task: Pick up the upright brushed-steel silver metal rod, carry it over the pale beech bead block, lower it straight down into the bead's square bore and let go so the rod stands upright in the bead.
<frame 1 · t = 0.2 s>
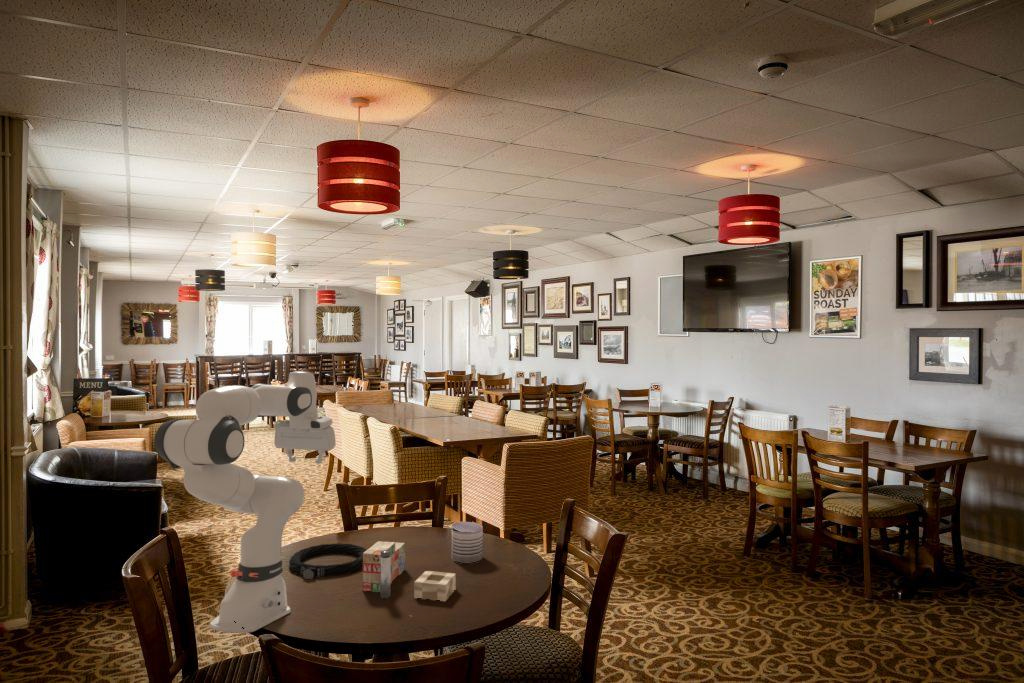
hand: (305, 462, 215), 39 cm above the table, tool pointing down, fingers open, 8 cm apart
cable lock: (328, 566, 232), on the table
silver metal rod: (385, 596, 203), on the table
bead: (435, 593, 206), on the table
stack of blocks: (384, 580, 217), on the table
can: (467, 559, 239), on the table
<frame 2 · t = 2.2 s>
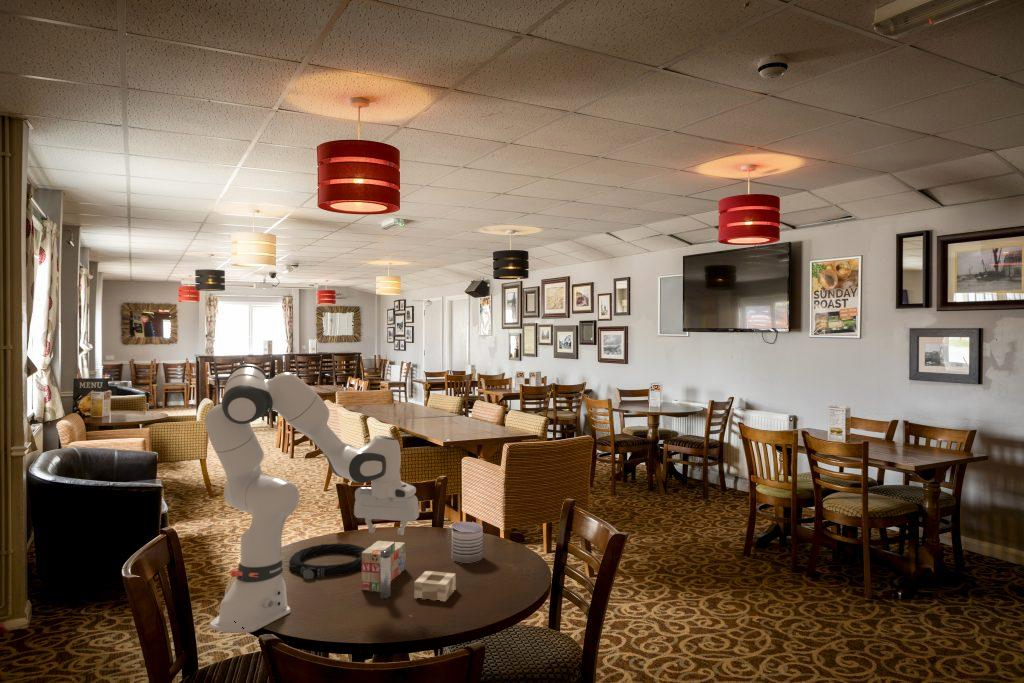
hand: (386, 533, 203), 19 cm above the table, tool pointing down, fingers open, 8 cm apart
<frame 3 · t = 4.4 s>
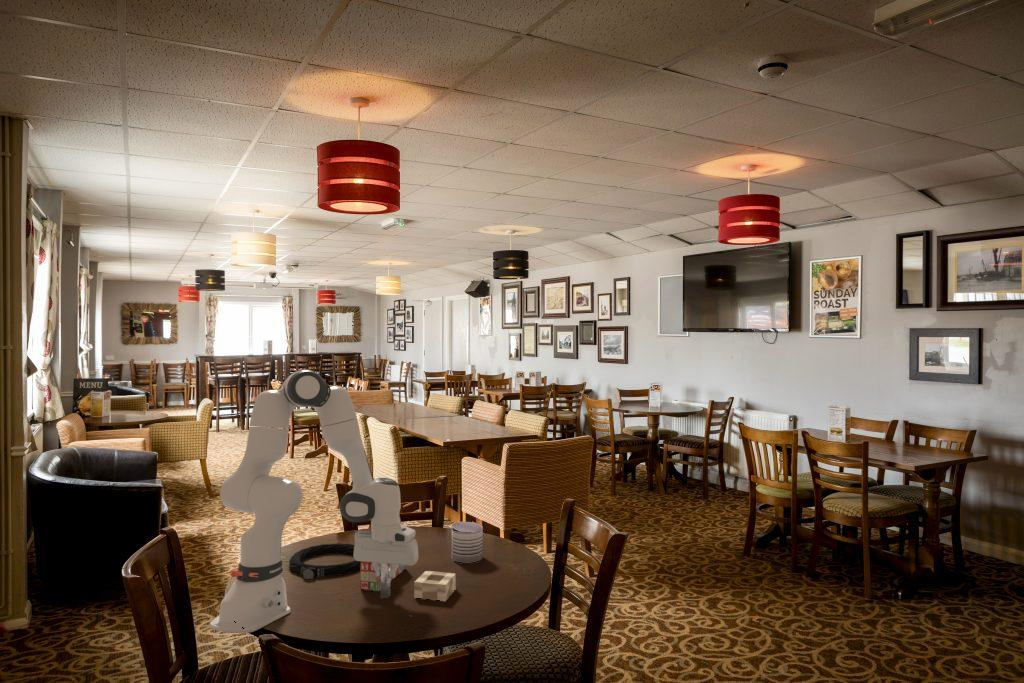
hand: (385, 576, 203), 6 cm above the table, tool pointing down, fingers closed on silver metal rod, 3 cm apart
silver metal rod: (385, 596, 203), on the table, touching gripper
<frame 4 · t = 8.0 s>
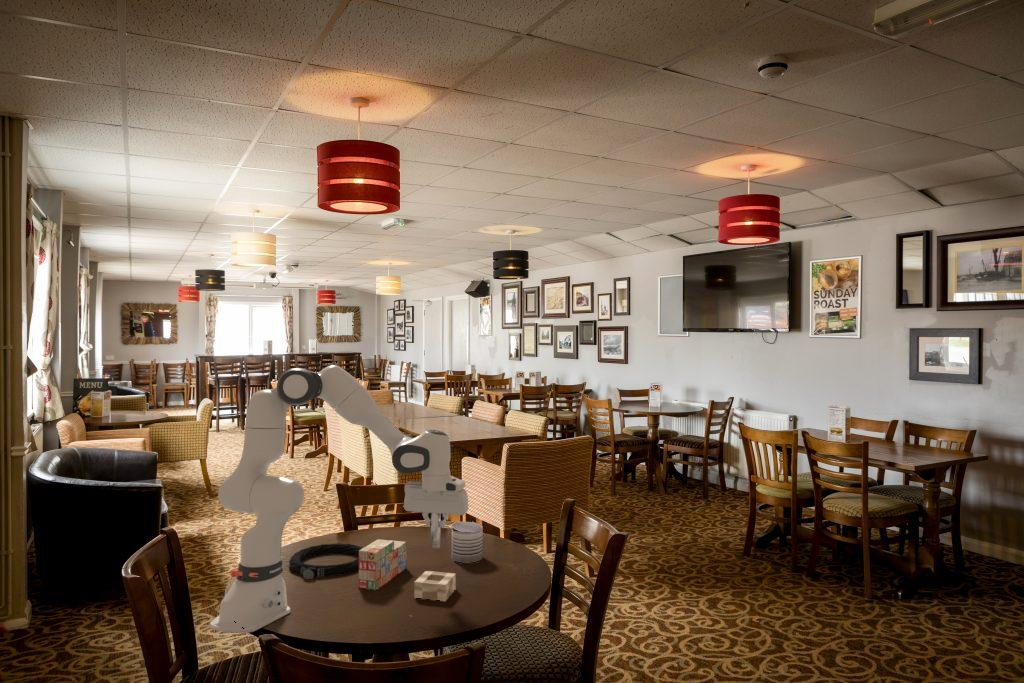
hand: (435, 526, 206), 21 cm above the table, tool pointing down, fingers closed on silver metal rod, 3 cm apart
silver metal rod: (435, 546, 206), point 15 cm above the table, touching gripper
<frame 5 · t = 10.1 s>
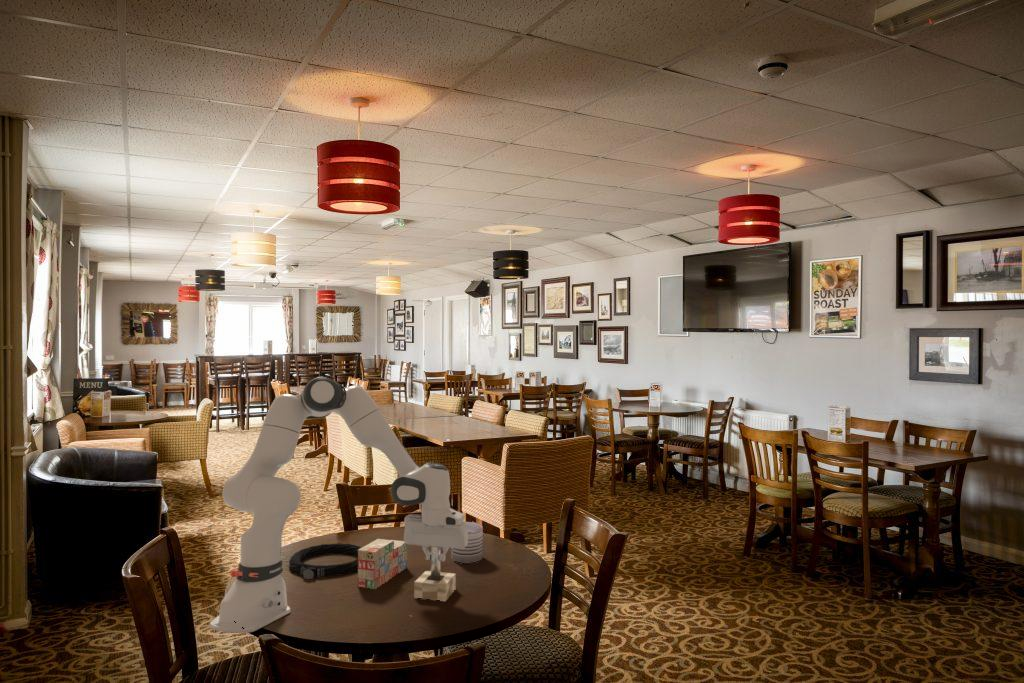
hand: (435, 560, 206), 10 cm above the table, tool pointing down, fingers closed on silver metal rod, 3 cm apart
silver metal rod: (435, 579, 206), point 4 cm above the table, touching gripper
when the fingers open (8 cm above the table, at t = 11.8 s): silver metal rod drops 2 cm, resting in bead.
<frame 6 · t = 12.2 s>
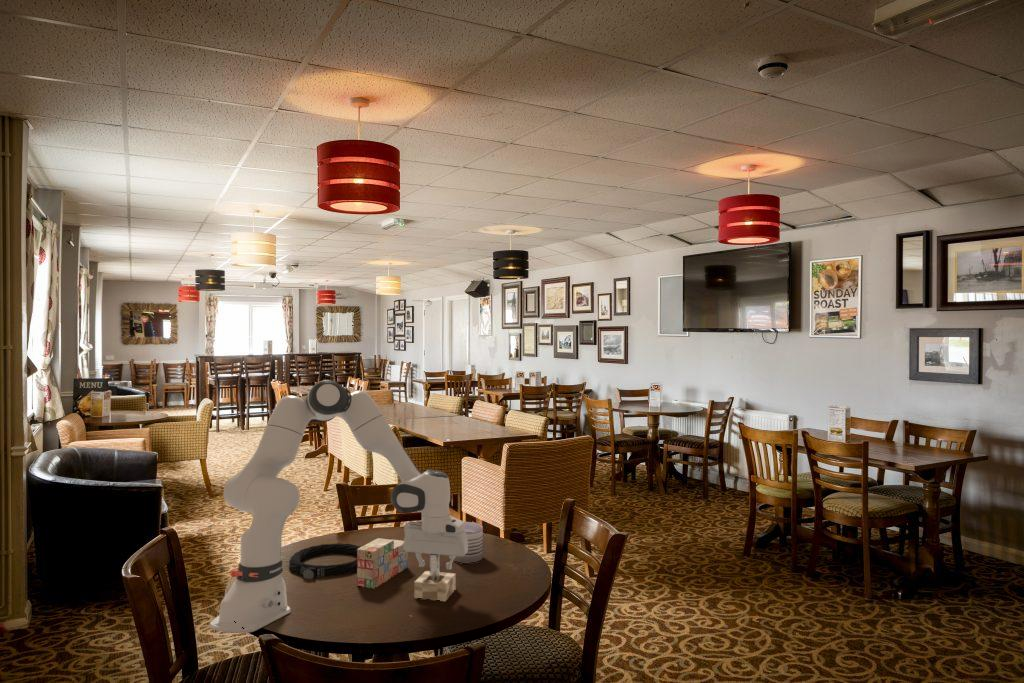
hand: (435, 567, 206), 8 cm above the table, tool pointing down, fingers open, 7 cm apart
silver metal rod: (435, 593, 206), resting in bead
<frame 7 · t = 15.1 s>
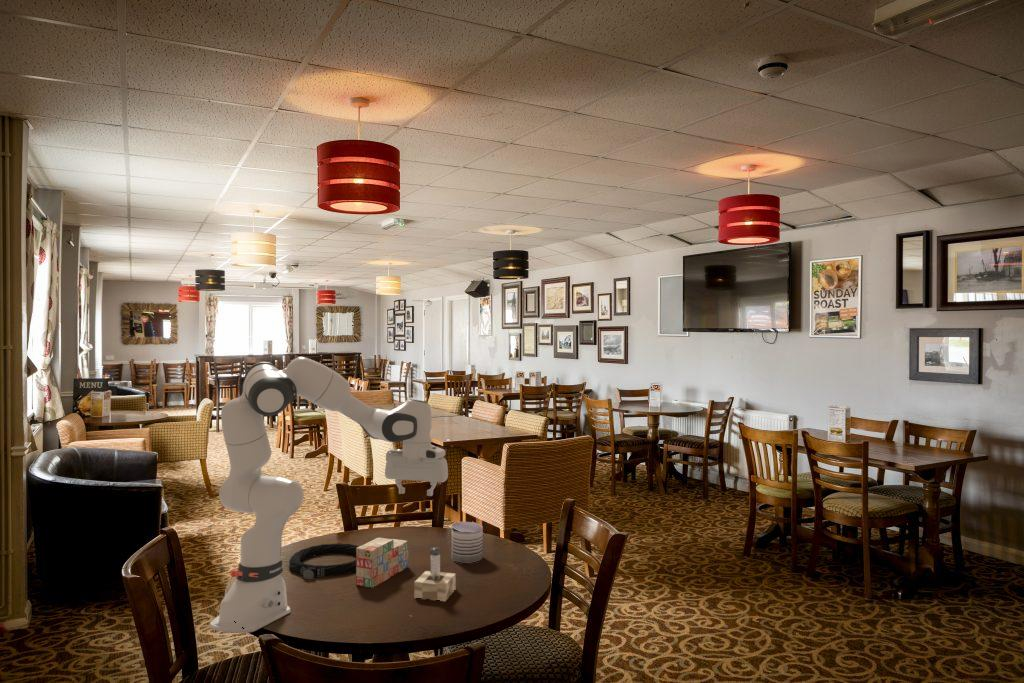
hand: (415, 494, 209), 30 cm above the table, tool pointing down, fingers open, 8 cm apart
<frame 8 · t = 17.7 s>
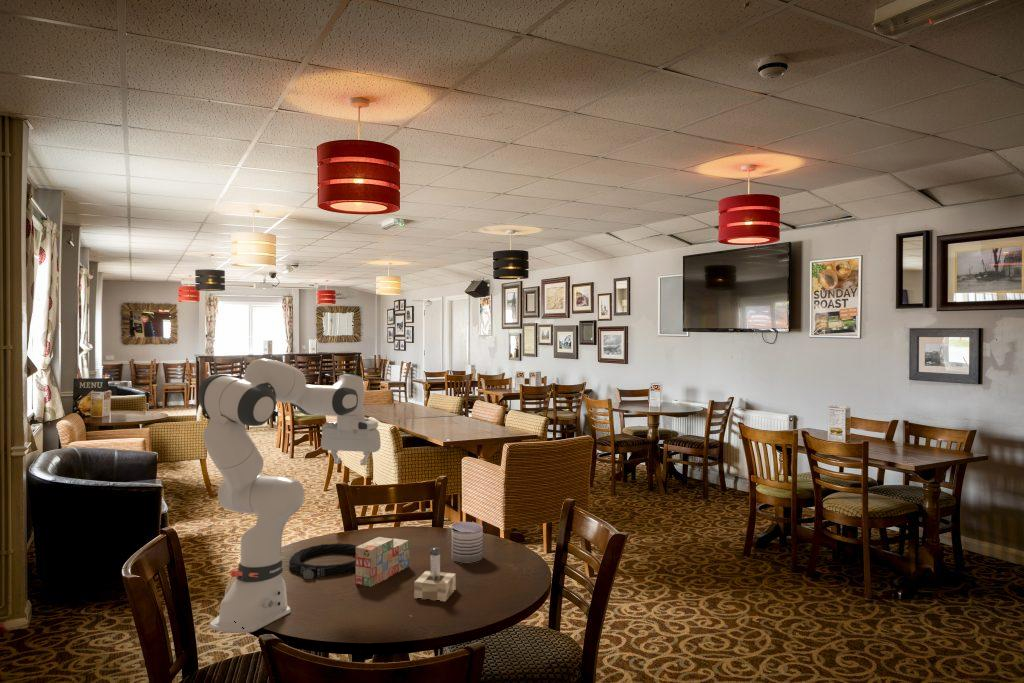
hand: (350, 464, 221), 37 cm above the table, tool pointing down, fingers open, 8 cm apart
at the end: silver metal rod 0.1 cm from the bead (horizontally); silver metal rod resting in bead; silver metal rod tilted 0° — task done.
